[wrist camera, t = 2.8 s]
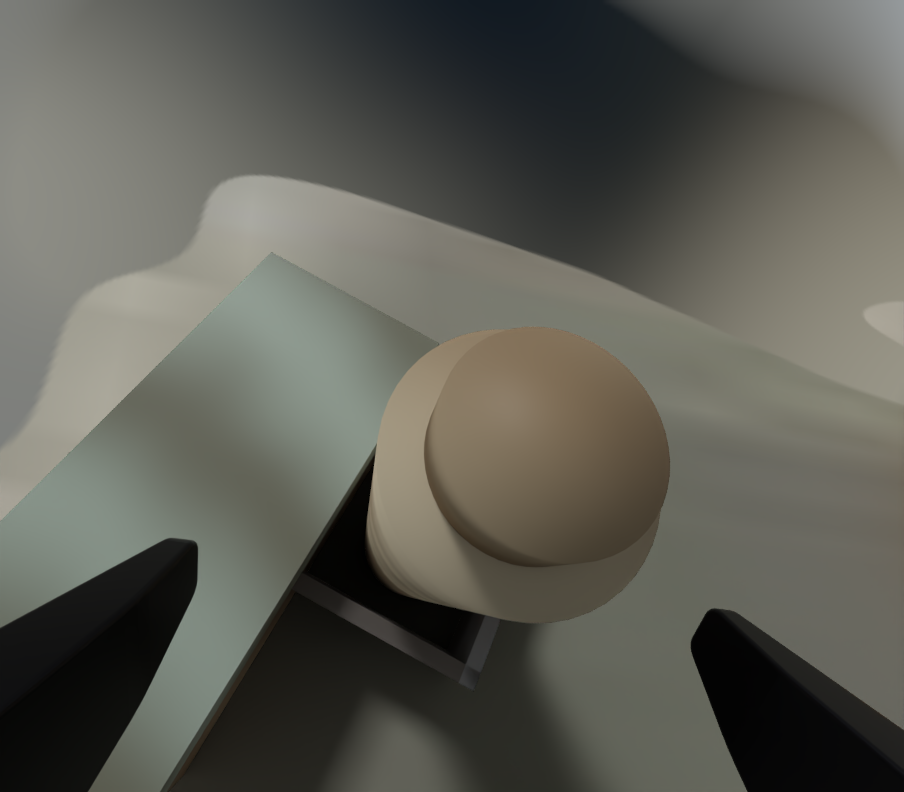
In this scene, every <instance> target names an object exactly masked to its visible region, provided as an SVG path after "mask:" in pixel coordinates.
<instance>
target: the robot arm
mask: <svg viewBox="0 0 904 792" xmlns="http://www.w3.org/2000/svg"><path fill="white" fill-rule="evenodd" d="M197 581H198V545H197V543H196V542H195V541H193V540H187V539H180V538H167V539H164V540H162V541H160V542H158V543H157V544H155V545H153V546H151V547H149V548H147V549H145V550H144V551H142V552H140V553H138V554H136V555H134V556H132V557H131V558H129V559H127V560H125V561H123V562H121V563H119V564H118V565H116V566H114V567H112V568H110V569H108V570H106V571H105V572H103V573H101V574H99V575H97V576H95V577H93V578H92V579H90V580H88V581H86V582H84V583H82V584H80V585H78V586H77V587H75V588H73V589H71V590H69V591H67V592H65V593H64V594H62V595H60V596H58V597H56V598H54V599H52V600H51V601H49V602H47V603H45V604H43V605H41V606H39V607H38V608H36V609H34V610H32V611H30V612H28V613H26V614H25V615H23V616H21V617H19V618H17V619H15V620H13V621H12V622H10V623H8V624H6V625H4V626H2V627H0V792H88V791H89V790H90V788H91V786H92V785H93V783H94V781H95V780H96V778H97V776H98V775H99V773H100V771H101V770H102V768H103V766H104V765H105V763H106V761H107V760H108V758H109V756H110V755H111V753H112V751H113V750H114V748H115V746H116V745H117V743H118V742H119V740H120V738H121V737H122V735H123V733H124V732H125V730H126V728H127V727H128V725H129V723H130V722H131V720H132V718H133V716H134V715H135V713H136V711H137V709H138V708H139V706H140V704H141V702H142V700H143V699H144V697H145V695H146V693H147V691H148V689H149V687H150V685H151V683H152V681H153V679H154V677H155V674H156V672H157V670H158V668H159V666H160V664H161V662H162V660H163V658H164V656H165V654H166V652H167V650H168V648H169V646H170V644H171V641H172V639H173V637H174V635H175V633H176V631H177V629H178V627H179V625H180V623H181V621H182V619H183V617H184V615H185V613H186V611H187V608H188V606H189V604H190V602H191V600H192V598H193V596H194V593H195V590H196V587H197ZM691 652H692V656H693V658H694V661H695V664H696V666H697V669H698V672H699V674H700V677H701V680H702V682H703V685H704V687H705V690H706V693H707V695H708V698H709V701H710V703H711V706H712V709H713V711H714V714H715V717H716V719H717V722H718V725H719V727H720V730H721V732H722V735H723V737H724V740H725V742H726V745H727V748H728V750H729V752H730V755H731V757H732V759H733V761H734V764H735V766H736V768H737V770H738V772H739V775H740V777H741V779H742V781H743V783H744V785H745V787H746V790H747V792H904V730H903V729H901V728H900V727H899V726H897V725H896V724H894V723H893V722H891V721H890V720H889V719H887V718H886V717H884V716H883V715H881V714H880V713H879V712H877V711H876V710H874V709H873V708H872V707H870V706H869V705H867V704H866V703H864V702H863V701H862V700H860V699H859V698H857V697H856V696H854V695H853V694H852V693H850V692H849V691H847V690H846V689H844V688H843V687H842V686H840V685H839V684H837V683H836V682H835V681H833V680H832V679H830V678H829V677H827V676H826V675H825V674H823V673H822V672H820V671H819V670H817V669H816V668H815V667H813V666H812V665H810V664H809V663H808V662H806V661H805V660H803V659H802V658H800V657H799V656H798V655H796V654H795V653H793V652H792V651H790V650H789V649H788V648H786V647H785V646H783V645H782V644H780V643H779V642H778V641H776V640H775V639H773V638H772V637H771V636H769V635H768V634H766V633H765V632H763V631H762V630H761V629H759V628H758V627H756V626H755V625H753V624H752V623H751V622H749V621H748V620H746V619H745V618H743V617H742V616H741V615H739V614H738V613H736V612H734V611H730V610H724V609H716V608H714V609H710V610H709V611H707V613H706V614H705V616H704V618H703V619H702V621H701V623H700V625H699V626H698V628H697V630H696V632H695V634H694V635H693V637H692V639H691Z"/></svg>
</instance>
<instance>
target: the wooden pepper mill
mask: <svg viewBox="0 0 904 792" xmlns="http://www.w3.org/2000/svg"><path fill="white" fill-rule="evenodd" d="M669 477H670V457H669V447H668V442H667V438H666V433H665V430H664V427H663V424H662V421H661V418H660V416H659V414H658V412H657V409H656V407H655V405H654V403H653V402H652V400H651V398H650V396H649V395H648V393H647V391H646V390H645V389H644V387H643V386H642V385H641V383H640V382H639V381H638V379H637V378H636V377H635V376H634V375H633V374H632V373H631V372H630V370H629V369H628V368H627V367H626V366H624V365H623V364H622V363H621V362H620V361H619V360H618V359H617V358H615V357H614V356H613V355H611V354H610V353H609V352H607V351H606V350H605V349H603V348H601V347H600V346H598V345H596V344H595V343H593V342H591V341H589V340H587V339H585V338H582V337H580V336H578V335H575V334H572V333H569V332H566V331H562V330H557V329H553V328H545V327H522V328H514V329H510V330H486V331H477V332H473V333H469V334H465V335H461V336H459V337H456V338H454V339H451V340H449V341H446V342H445V343H443V344H441V345H439V346H437V347H436V348H434V349H432V350H431V351H429V352H428V353H427V354H425V355H424V356H423V357H421V358H420V359H419V360H418V361H417V362H416V363H415V364H414V365H413V366H412V367H411V368H410V369H409V370H408V371H407V372H406V374H405V375H404V376H403V378H402V379H401V380H400V382H399V383H398V384H397V386H396V388H395V390H394V391H393V393H392V395H391V397H390V399H389V401H388V403H387V406H386V409H385V411H384V414H383V417H382V420H381V425H380V429H379V434H378V440H377V447H376V455H375V463H374V470H373V478H372V486H371V493H370V501H369V508H368V516H367V524H366V531H365V541H364V547H365V555H366V559H367V562H368V565H369V567H370V569H371V571H372V573H373V575H374V576H375V577H376V579H377V580H378V581H379V582H380V583H381V584H382V585H383V586H384V587H386V588H387V589H389V590H390V591H392V592H394V593H396V594H399V595H403V596H406V597H411V598H415V599H419V600H423V601H428V602H432V603H436V604H440V605H444V606H449V607H453V608H457V609H461V610H466V611H470V612H474V613H478V614H483V615H487V616H491V617H495V618H499V619H504V620H509V621H516V622H523V623H552V622H557V621H563V620H569V619H572V618H575V617H578V616H581V615H584V614H586V613H589V612H591V611H593V610H595V609H596V608H598V607H600V606H602V605H604V604H606V603H607V602H608V601H610V600H611V599H612V598H613V597H615V596H616V595H617V594H618V593H620V592H621V591H622V590H623V589H624V588H625V587H626V586H627V585H628V583H629V582H630V581H631V580H632V579H633V578H634V577H635V575H636V574H637V572H638V571H639V569H640V568H641V566H642V565H643V563H644V562H645V560H646V558H647V556H648V553H649V551H650V549H651V547H652V545H653V542H654V538H655V535H656V532H657V529H658V524H659V518H660V511H661V508H662V506H663V503H664V499H665V496H666V493H667V489H668V483H669Z"/></svg>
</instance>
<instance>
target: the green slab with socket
mask: <svg viewBox="0 0 904 792" xmlns="http://www.w3.org/2000/svg"><path fill="white" fill-rule="evenodd" d="M438 345H439V343H438V342H436V341H434V340H432V339H430V338H429V337H427V336H425V335H423V334H421V333H419V332H418V331H416V330H414V329H412V328H410V327H408V326H406V325H405V324H403V323H401V322H399V321H397V320H395V319H394V318H392V317H390V316H388V315H386V314H384V313H383V312H381V311H379V310H377V309H375V308H373V307H372V306H370V305H368V304H366V303H364V302H362V301H361V300H359V299H357V298H355V297H353V296H351V295H349V294H348V293H346V292H344V291H342V290H340V289H338V288H337V287H335V286H333V285H331V284H329V283H327V282H326V281H324V280H322V279H320V278H318V277H316V276H315V275H313V274H311V273H309V272H307V271H305V270H304V269H302V268H300V267H298V266H296V265H294V264H292V263H291V262H289V261H287V260H285V259H283V258H281V257H280V256H278V255H276V254H274V253H272V252H271V253H270V254H269V255H268V256H267V257H266V258H265V259H264V260H263V261H262V262H261V263H260V264H259V265H258V266H257V267H256V268H255V269H254V270H253V271H252V272H251V273H250V274H249V275H248V276H247V277H246V278H245V279H244V280H243V281H242V282H241V283H240V284H239V285H238V286H237V287H236V288H235V289H234V290H233V291H232V292H231V293H230V294H229V295H228V296H227V297H226V298H225V299H224V300H223V301H222V302H221V303H220V304H219V305H218V306H217V307H216V308H215V309H214V310H213V311H212V312H211V313H210V314H209V315H208V316H207V317H206V318H205V319H204V320H203V321H202V322H201V323H200V324H199V325H198V326H197V327H196V328H195V329H194V330H193V331H192V332H191V333H190V334H189V335H188V336H187V337H186V338H185V339H184V340H183V341H182V342H181V343H180V344H179V345H178V346H177V347H176V348H175V349H174V350H173V351H172V352H171V353H169V354H168V355H167V356H166V357H165V358H164V359H163V360H162V361H161V362H160V363H159V364H158V365H157V366H156V367H155V368H154V369H153V370H152V371H151V372H150V373H149V374H148V375H147V376H146V377H145V378H144V379H143V380H142V381H141V382H140V383H139V384H138V385H137V386H136V387H135V388H134V389H133V390H132V391H131V392H130V393H129V394H128V395H127V396H126V397H125V398H124V399H123V400H122V401H121V402H120V403H119V404H118V405H117V406H116V407H115V408H114V409H113V410H112V411H111V412H110V413H109V414H108V415H107V416H106V417H105V418H104V419H103V420H102V421H101V422H100V423H99V424H98V425H97V426H96V427H95V428H94V429H93V430H92V431H91V432H90V433H89V434H88V435H87V436H86V437H85V438H84V439H83V440H82V441H81V442H80V443H79V444H78V445H77V446H76V447H75V448H74V449H73V450H72V451H71V452H70V453H69V454H68V455H67V456H66V457H65V458H64V459H63V460H62V461H61V462H60V463H59V464H58V465H57V466H56V467H55V468H54V469H53V470H52V471H51V472H50V473H49V474H48V475H47V476H46V477H45V478H44V479H43V480H42V481H41V482H40V483H39V484H38V485H37V486H36V487H35V488H34V489H33V490H32V491H31V492H30V493H29V494H28V495H27V496H26V497H25V498H24V499H22V500H21V501H20V502H19V503H18V504H17V505H16V506H15V507H14V508H13V509H12V510H11V511H10V512H9V513H8V514H7V515H6V516H5V517H4V518H3V519H2V520H1V521H0V627H2V626H4V625H6V624H8V623H10V622H12V621H13V620H15V619H17V618H19V617H21V616H23V615H25V614H26V613H28V612H30V611H32V610H34V609H36V608H38V607H39V606H41V605H43V604H45V603H47V602H49V601H51V600H52V599H54V598H56V597H58V596H60V595H62V594H64V593H65V592H67V591H69V590H71V589H73V588H75V587H77V586H78V585H80V584H82V583H84V582H86V581H88V580H90V579H92V578H93V577H95V576H97V575H99V574H101V573H103V572H105V571H106V570H108V569H110V568H112V567H114V566H116V565H118V564H119V563H121V562H123V561H125V560H127V559H129V558H131V557H132V556H134V555H136V554H138V553H140V552H142V551H144V550H145V549H147V548H149V547H151V546H153V545H155V544H157V543H158V542H160V541H162V540H164V539H167V538H180V539H187V540H193V541H195V542H196V543H197V545H198V581H197V587H196V590H195V593H194V596H193V598H192V600H191V602H190V604H189V606H188V608H187V611H186V613H185V615H184V617H183V619H182V621H181V623H180V625H179V627H178V629H177V631H176V633H175V635H174V637H173V639H172V641H171V644H170V646H169V648H168V650H167V652H166V654H165V656H164V658H163V660H162V662H161V664H160V666H159V668H158V670H157V672H156V674H155V677H154V679H153V681H152V683H151V685H150V687H149V689H148V691H147V693H146V695H145V697H144V699H143V700H142V702H141V704H140V706H139V708H138V709H137V711H136V713H135V715H134V716H133V718H132V720H131V722H130V723H129V725H128V727H127V728H126V730H125V732H124V733H123V735H122V737H121V738H120V740H119V742H118V743H117V745H116V746H115V748H114V750H113V751H112V753H111V755H110V756H109V758H108V760H107V761H106V763H105V765H104V766H103V768H102V770H101V771H100V773H99V775H98V776H97V778H96V780H95V781H94V783H93V785H92V786H91V788H90V790H89V791H88V792H169V790H170V789H171V788H172V787H173V786H174V785H175V784H176V783H177V782H178V781H179V780H180V779H181V777H182V776H183V775H184V774H185V772H186V770H187V769H188V767H189V765H190V764H191V762H192V760H193V759H194V757H195V756H196V754H197V752H198V751H199V749H200V747H201V746H202V744H203V742H204V741H205V739H206V737H207V736H208V734H209V733H210V731H211V729H212V728H213V726H214V724H215V723H216V721H217V719H218V718H219V716H220V715H221V713H222V711H223V710H224V708H225V706H226V705H227V703H228V701H229V700H230V698H231V697H232V695H233V693H234V692H235V690H236V688H237V687H238V685H239V683H240V682H241V680H242V679H243V677H244V675H245V674H246V672H247V670H248V669H249V667H250V665H251V664H252V662H253V661H254V659H255V657H256V656H257V654H258V652H259V651H260V649H261V647H262V646H263V644H264V643H265V641H266V639H267V638H268V636H269V634H270V633H271V631H272V629H273V628H274V626H275V625H276V623H277V621H278V620H279V618H280V616H281V615H282V613H283V611H284V610H285V608H286V606H287V605H288V603H289V602H290V600H291V598H292V597H293V595H294V593H295V592H298V593H299V594H301V595H303V596H305V597H307V598H308V599H310V600H312V601H314V602H315V603H317V604H319V605H321V606H323V607H324V608H326V609H328V610H330V611H331V612H333V613H335V614H337V615H339V616H340V617H342V618H344V619H346V620H347V621H349V622H351V623H353V624H355V625H356V626H358V627H360V628H362V629H363V630H365V631H367V632H369V633H371V634H372V635H374V636H376V637H378V638H379V639H381V640H383V641H385V642H387V643H388V644H390V645H392V646H394V647H395V648H397V649H399V650H401V651H403V652H404V653H406V654H408V655H410V656H411V657H413V658H415V659H417V660H419V661H420V662H422V663H424V664H426V665H427V666H429V667H431V668H433V669H435V670H436V671H438V672H440V673H442V674H443V675H445V676H447V677H449V678H451V679H452V680H454V681H456V682H458V683H459V684H461V685H463V686H465V687H467V688H468V689H470V690H472V691H474V689H475V687H476V684H477V681H478V679H479V676H480V673H481V671H482V668H483V665H484V663H485V660H486V657H487V655H488V652H489V650H490V647H491V644H492V642H493V639H494V636H495V634H496V631H497V628H498V626H499V623H500V620H501V619H499V618H495V617H491V616H487V615H483V614H478V613H474V612H470V611H466V610H463V613H462V615H461V618H460V620H459V622H458V625H457V627H456V629H455V632H454V634H453V637H452V639H451V641H450V644H449V646H448V648H447V650H445V649H443V648H442V647H440V646H438V645H436V644H434V643H433V642H431V641H429V640H427V639H425V638H424V637H422V636H420V635H418V634H417V633H415V632H413V631H411V630H409V629H408V628H406V627H404V626H402V625H401V624H399V623H397V622H395V621H393V620H392V619H390V618H388V617H386V616H384V615H383V614H381V613H379V612H377V611H376V610H374V609H372V608H370V607H368V606H367V605H365V604H363V603H361V602H360V601H358V600H356V599H354V598H352V597H351V596H349V595H347V594H345V593H343V592H342V591H340V590H338V589H336V588H335V587H333V586H331V585H329V584H327V583H326V582H324V581H322V580H320V579H318V578H317V577H315V576H313V575H311V574H310V573H308V570H309V569H310V567H311V566H312V564H313V562H314V561H315V559H316V557H317V556H318V554H319V552H320V551H321V549H322V548H323V546H324V544H325V543H326V541H327V539H328V538H329V536H330V534H331V533H332V531H333V530H334V528H335V526H336V525H337V523H338V521H339V520H340V518H341V516H342V515H343V513H344V512H345V510H346V508H347V507H348V505H349V503H350V502H351V500H352V498H353V497H354V495H355V493H356V492H357V490H358V489H359V487H360V485H361V484H362V482H363V480H364V479H365V477H366V475H367V474H368V472H369V471H370V469H371V467H372V466H373V464H374V462H375V455H376V447H377V440H378V434H379V429H380V425H381V420H382V417H383V414H384V411H385V409H386V406H387V403H388V401H389V399H390V397H391V395H392V393H393V391H394V390H395V388H396V386H397V384H398V383H399V382H400V380H401V379H402V378H403V376H404V375H405V374H406V372H407V371H408V370H409V369H410V368H411V367H412V366H413V365H414V364H415V363H416V362H417V361H418V360H419V359H420V358H421V357H423V356H424V355H425V354H427V353H428V352H429V351H431V350H432V349H434V348H436V347H437V346H438Z"/></svg>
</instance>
